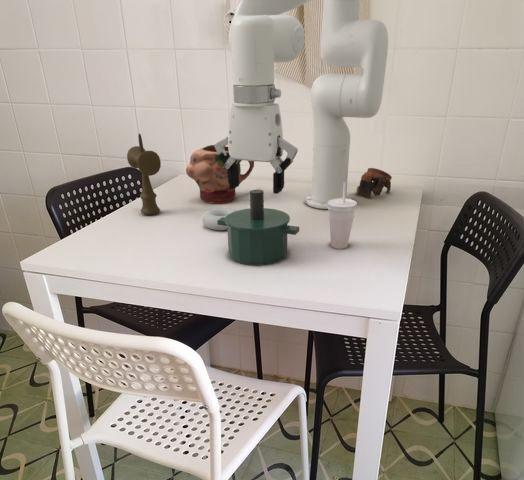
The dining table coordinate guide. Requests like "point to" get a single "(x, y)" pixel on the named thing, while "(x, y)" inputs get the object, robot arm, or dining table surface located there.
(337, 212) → the smoothie
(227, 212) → the donut
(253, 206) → the lid
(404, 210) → the dining table surface
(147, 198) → the kendama
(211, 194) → the sculpted ceramic jug
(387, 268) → the dining table surface
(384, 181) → the brown piece
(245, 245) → the pot
